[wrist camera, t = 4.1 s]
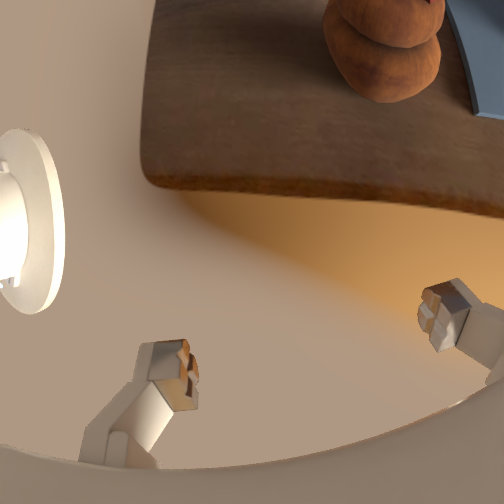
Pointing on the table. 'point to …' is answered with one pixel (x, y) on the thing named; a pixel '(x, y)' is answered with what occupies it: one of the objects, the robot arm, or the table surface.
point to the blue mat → (481, 51)
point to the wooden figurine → (385, 45)
